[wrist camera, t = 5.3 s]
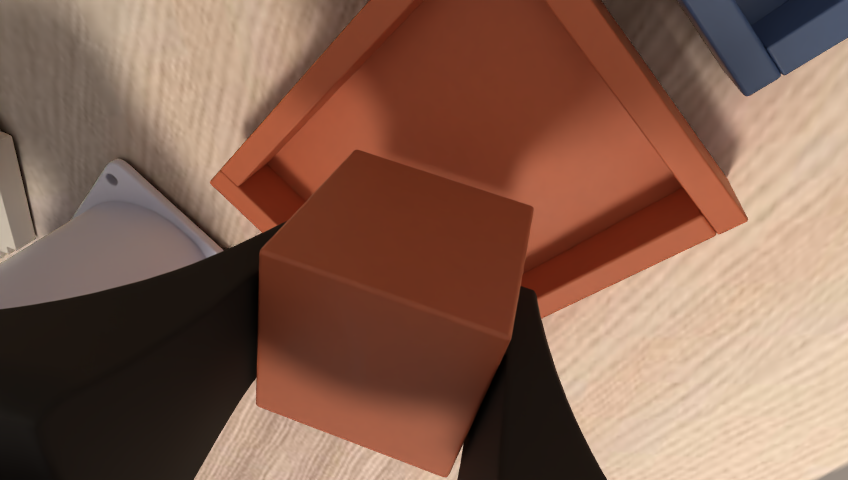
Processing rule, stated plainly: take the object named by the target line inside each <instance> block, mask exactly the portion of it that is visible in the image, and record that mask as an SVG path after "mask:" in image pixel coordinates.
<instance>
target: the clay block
mask: <svg viewBox="0 0 848 480" xmlns="http://www.w3.org/2000/svg"><path fill="white" fill-rule="evenodd" d="M533 212H534V208H533V207H532V206H530V205H527V204H524V203H521V202H518V201H515V200H512V199H509V198H506V197H503V196H499V195H496V194H493V193H490V192H487V191H484V190H481V189H478V188H475V187H472V186H469V185H466V184H462V183H459V182H456V181H453V180H450V179H447V178H444V177H441V176H438V175H435V174H432V173H428V172H425V171H422V170H419V169H416V168H413V167H410V166H407V165H404V164H401V163H398V162H395V161H391V160H388V159H385V158H382V157H379V156H376V155H373V154H370V153H367V152H364V151H361V150H354V151H353V152H352V153H351V154H350V155H349V156H348V158H347V159H346V160H345V161H344V162H343V163H342V164H341V165H340V166H339V167H338V168H337V169H336V170H335V171H334V172H333V173H332V174H331V175H330V177H329V178H328V179H327V180H326V181H325V182H324V183H323V184H322V185H321V186H320V187H319V188H318V189H317V190H316V191H315V192H314V193H313V194H312V196H311V197H310V198H309V199H308V200H307V201H306V202H305V203H304V204H303V205H302V206H301V207H300V208H299V209H298V210H297V211H296V212H295V213H294V215H293V216H292V217H291V218H290V219H289V220H288V221H287V222H286V223H285V224H284V225H283V226H282V227H281V228H280V229H279V230H278V231H277V232H276V234H275V235H274V236H273V237H272V238H271V239H270V240H269V241H268V242H267V243H266V244H265V245H264V246H263V247H262V248H261V250H260V253H259V293H258V338H257V384H256V404H257V406H259V407H261V408H264V409H266V410H269V411H271V412H274V413H277V414H279V415H282V416H285V417H287V418H290V419H292V420H295V421H298V422H300V423H303V424H305V425H308V426H311V427H313V428H316V429H319V430H321V431H324V432H326V433H329V434H332V435H334V436H337V437H340V438H342V439H345V440H347V441H350V442H353V443H355V444H358V445H360V446H363V447H366V448H368V449H371V450H374V451H376V452H379V453H381V454H384V455H387V456H389V457H392V458H394V459H397V460H400V461H402V462H405V463H408V464H410V465H413V466H415V467H418V468H421V469H423V470H426V471H428V472H431V473H434V474H436V475H439V476H442V477H447V476H448V475H449V474H450V471H451V469H452V467H453V465H454V463H455V460H456V458H457V456H458V454H459V452H460V450H461V447H462V445H463V443H464V441H465V439H466V437H467V434H468V432H469V430H470V428H471V426H472V424H473V421H474V419H475V417H476V415H477V413H478V410H479V408H480V406H481V404H482V402H483V400H484V397H485V395H486V393H487V391H488V389H489V387H490V384H491V382H492V380H493V378H494V376H495V373H496V371H497V369H498V367H499V365H500V363H501V360H502V358H503V356H504V354H505V352H506V350H507V347H508V345H509V343H510V341H511V338H512V332H513V327H514V321H515V315H516V309H517V304H518V298H519V292H520V286H521V281H522V275H523V269H524V264H525V258H526V252H527V246H528V241H529V235H530V229H531V223H532V218H533Z"/></svg>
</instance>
